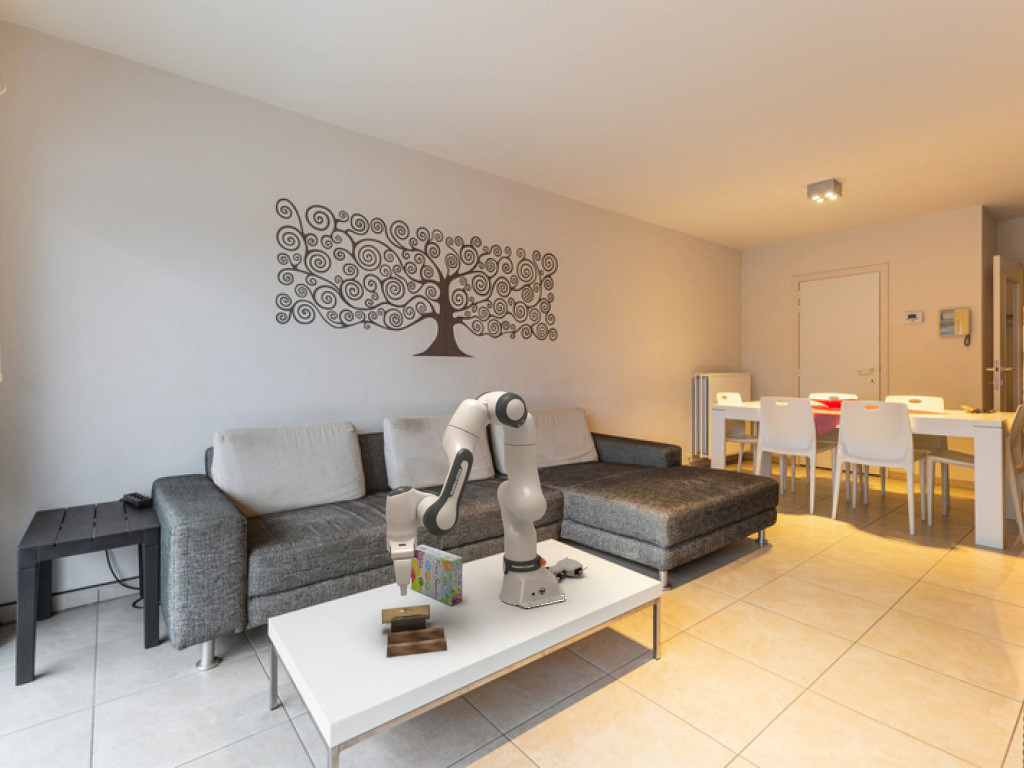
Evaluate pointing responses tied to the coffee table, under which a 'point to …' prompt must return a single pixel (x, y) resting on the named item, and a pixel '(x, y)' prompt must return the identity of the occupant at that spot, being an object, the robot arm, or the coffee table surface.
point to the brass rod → (405, 612)
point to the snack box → (437, 574)
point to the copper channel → (416, 646)
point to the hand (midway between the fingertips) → (403, 588)
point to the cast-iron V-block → (408, 623)
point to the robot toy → (566, 568)
